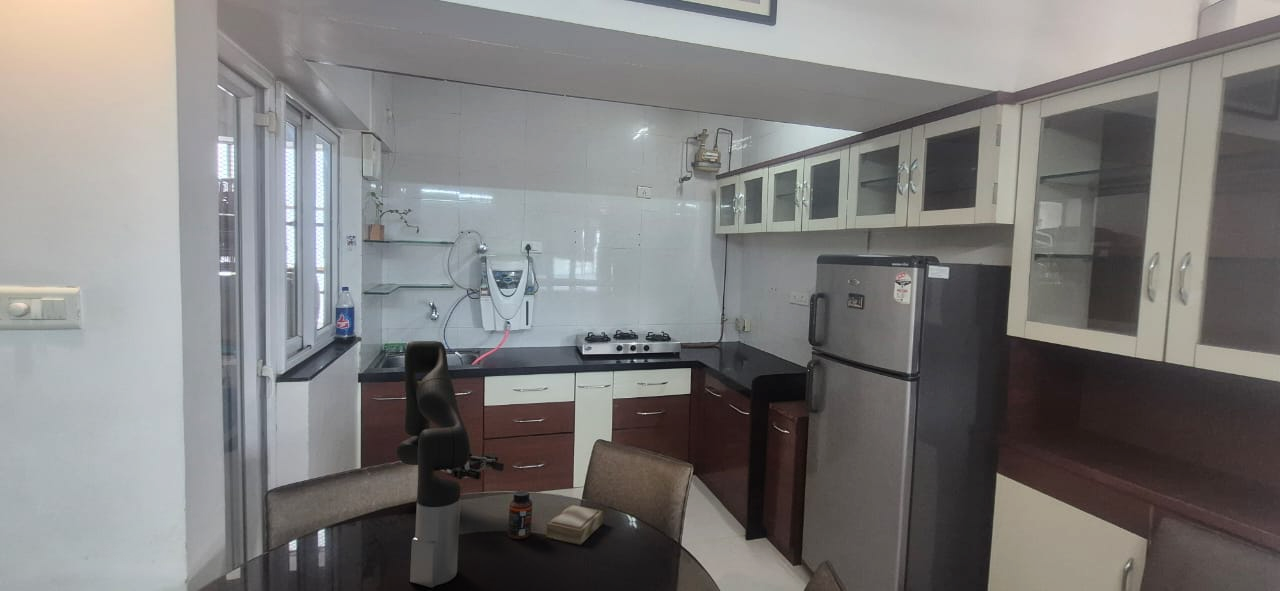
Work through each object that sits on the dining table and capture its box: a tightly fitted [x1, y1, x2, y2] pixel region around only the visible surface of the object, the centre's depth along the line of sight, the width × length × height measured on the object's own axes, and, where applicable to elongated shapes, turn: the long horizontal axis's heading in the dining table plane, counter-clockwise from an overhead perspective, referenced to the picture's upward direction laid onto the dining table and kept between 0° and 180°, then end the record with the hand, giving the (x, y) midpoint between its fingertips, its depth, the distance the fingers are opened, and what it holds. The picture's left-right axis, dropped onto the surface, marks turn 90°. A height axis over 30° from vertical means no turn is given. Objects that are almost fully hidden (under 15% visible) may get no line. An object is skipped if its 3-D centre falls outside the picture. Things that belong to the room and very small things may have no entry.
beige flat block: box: [546, 504, 604, 546], centre depth 146 cm, size 14×10×4 cm
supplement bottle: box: [507, 490, 533, 540], centre depth 141 cm, size 6×6×11 cm
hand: (491, 471), depth 147 cm, fingers open, 8 cm apart
